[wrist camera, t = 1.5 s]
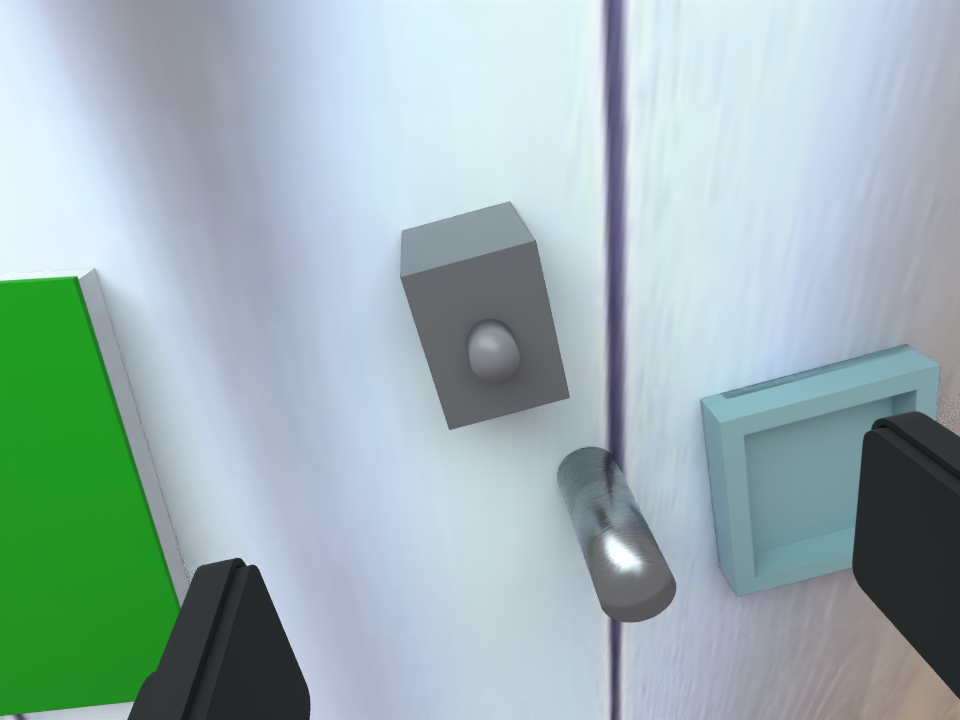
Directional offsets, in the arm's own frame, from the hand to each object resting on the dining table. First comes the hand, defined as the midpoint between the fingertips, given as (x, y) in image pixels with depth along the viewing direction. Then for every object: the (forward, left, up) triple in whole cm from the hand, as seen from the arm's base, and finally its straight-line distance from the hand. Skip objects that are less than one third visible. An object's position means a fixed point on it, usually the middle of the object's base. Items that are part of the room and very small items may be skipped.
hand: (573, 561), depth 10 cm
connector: (0, +2, -19) cm, 19 cm away
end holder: (-14, +16, -19) cm, 28 cm away
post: (-3, +13, -19) cm, 23 cm away
